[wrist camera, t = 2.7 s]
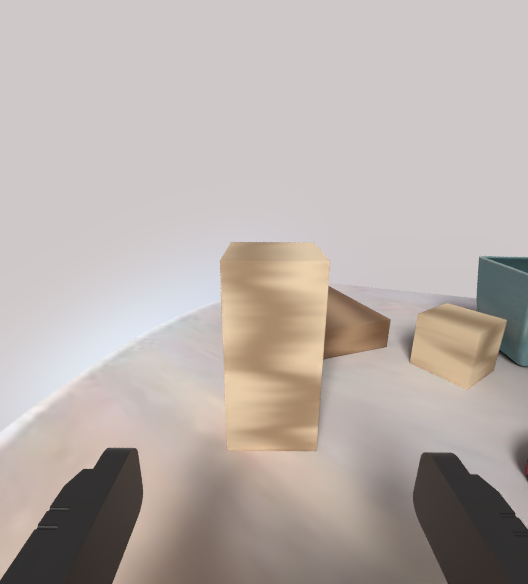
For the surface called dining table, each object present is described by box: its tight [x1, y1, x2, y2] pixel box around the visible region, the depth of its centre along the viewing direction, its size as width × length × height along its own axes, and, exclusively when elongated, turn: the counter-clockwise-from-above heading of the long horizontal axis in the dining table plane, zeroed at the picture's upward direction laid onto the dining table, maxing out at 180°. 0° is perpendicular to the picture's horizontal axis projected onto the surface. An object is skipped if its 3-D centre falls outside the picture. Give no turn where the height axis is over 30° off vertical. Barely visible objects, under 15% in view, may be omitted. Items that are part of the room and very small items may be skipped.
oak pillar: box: [220, 242, 330, 451], centre depth 20 cm, size 6×6×12 cm
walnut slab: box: [221, 286, 390, 359], centre depth 36 cm, size 14×14×3 cm
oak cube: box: [410, 303, 507, 390], centre depth 28 cm, size 5×5×5 cm
